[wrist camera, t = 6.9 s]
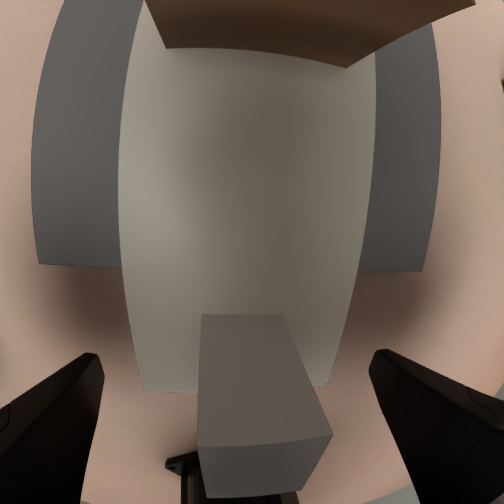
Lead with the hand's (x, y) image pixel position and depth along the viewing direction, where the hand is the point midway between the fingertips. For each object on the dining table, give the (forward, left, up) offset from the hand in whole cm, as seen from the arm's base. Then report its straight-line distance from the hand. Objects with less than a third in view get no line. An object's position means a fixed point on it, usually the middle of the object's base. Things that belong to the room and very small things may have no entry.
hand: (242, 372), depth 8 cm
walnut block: (+7, +9, -1) cm, 12 cm away
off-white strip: (+4, +6, -2) cm, 7 cm away
